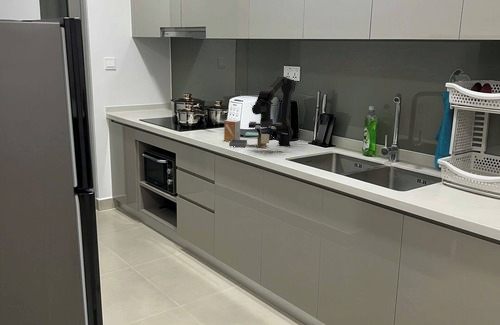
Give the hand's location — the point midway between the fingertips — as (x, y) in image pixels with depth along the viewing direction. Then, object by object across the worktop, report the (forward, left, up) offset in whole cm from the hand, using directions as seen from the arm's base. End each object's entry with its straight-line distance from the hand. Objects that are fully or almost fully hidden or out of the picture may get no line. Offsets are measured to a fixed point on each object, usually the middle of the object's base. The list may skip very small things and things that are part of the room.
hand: (265, 140), depth 273 cm
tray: (+17, -13, -6) cm, 22 cm away
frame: (+2, -13, -6) cm, 15 cm away
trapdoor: (+6, -13, -2) cm, 14 cm away
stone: (0, 0, -1) cm, 1 cm away
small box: (+22, -26, -6) cm, 35 cm away
